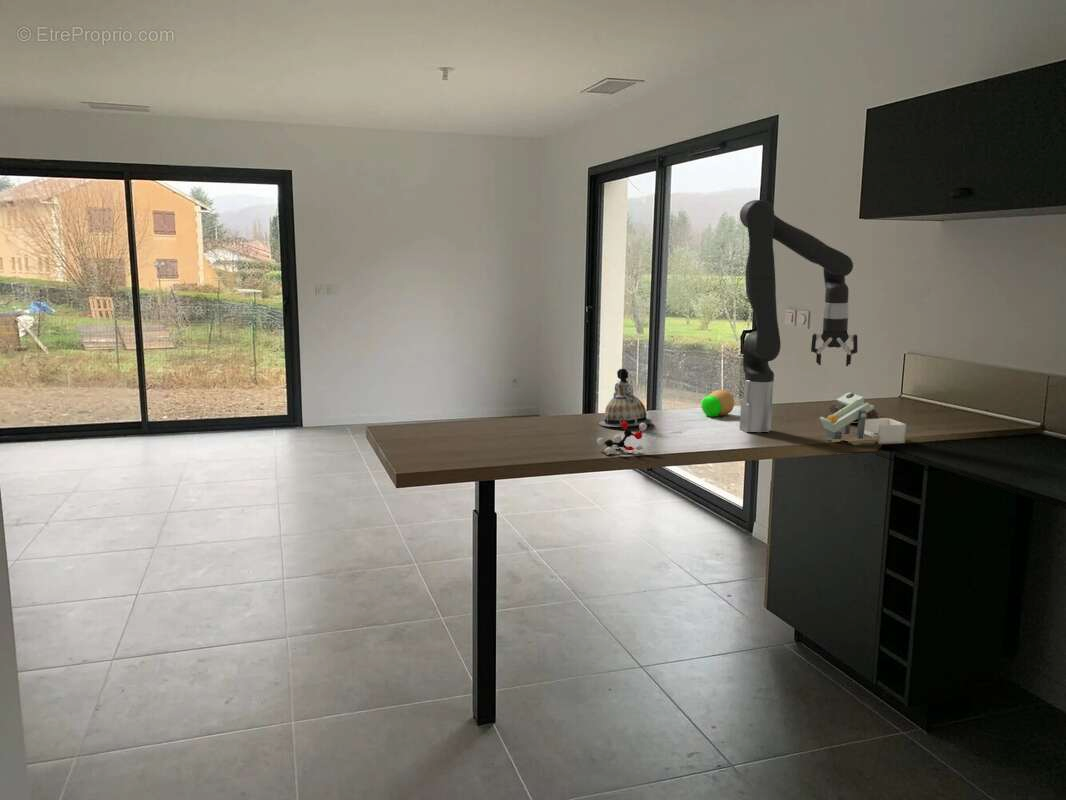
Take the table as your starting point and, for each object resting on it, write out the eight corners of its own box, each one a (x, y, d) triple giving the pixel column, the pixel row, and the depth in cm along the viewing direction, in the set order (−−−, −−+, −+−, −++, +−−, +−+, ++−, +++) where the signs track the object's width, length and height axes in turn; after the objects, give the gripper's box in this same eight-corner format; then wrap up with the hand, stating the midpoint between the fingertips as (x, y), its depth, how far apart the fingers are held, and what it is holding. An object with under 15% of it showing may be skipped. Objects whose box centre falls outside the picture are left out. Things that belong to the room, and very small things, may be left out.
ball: (830, 426, 248) (830, 416, 248) (824, 423, 251) (825, 414, 251) (839, 425, 249) (840, 415, 248) (834, 423, 252) (834, 413, 251)
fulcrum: (840, 446, 245) (843, 413, 243) (819, 436, 257) (821, 404, 255) (874, 444, 247) (877, 412, 245) (851, 435, 259) (854, 403, 257)
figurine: (590, 422, 278) (592, 365, 276) (637, 420, 284) (640, 365, 281) (611, 431, 261) (614, 371, 258) (661, 429, 267) (664, 371, 264)
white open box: (878, 444, 248) (880, 425, 247) (861, 437, 257) (863, 419, 256) (904, 443, 249) (906, 424, 248) (887, 436, 258) (889, 418, 257)
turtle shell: (850, 412, 269) (822, 390, 287) (846, 436, 272) (818, 413, 290) (894, 409, 271) (863, 388, 289) (889, 433, 274) (859, 411, 293)
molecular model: (613, 469, 233) (601, 440, 229) (603, 460, 240) (591, 432, 237) (658, 445, 235) (646, 416, 231) (647, 437, 242) (635, 409, 239)
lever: (834, 432, 247) (829, 422, 246) (807, 420, 264) (802, 410, 263) (879, 404, 248) (875, 394, 247) (849, 394, 265) (845, 384, 264)
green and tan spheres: (737, 386, 285) (713, 395, 279) (741, 412, 286) (718, 421, 280) (714, 386, 295) (691, 395, 289) (719, 411, 296) (696, 420, 290)
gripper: (811, 317, 256) (809, 366, 260) (859, 318, 251) (856, 368, 254) (813, 314, 263) (811, 362, 266) (859, 315, 258) (856, 364, 261)
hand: (833, 365), depth 260 cm, fingers open, 8 cm apart
